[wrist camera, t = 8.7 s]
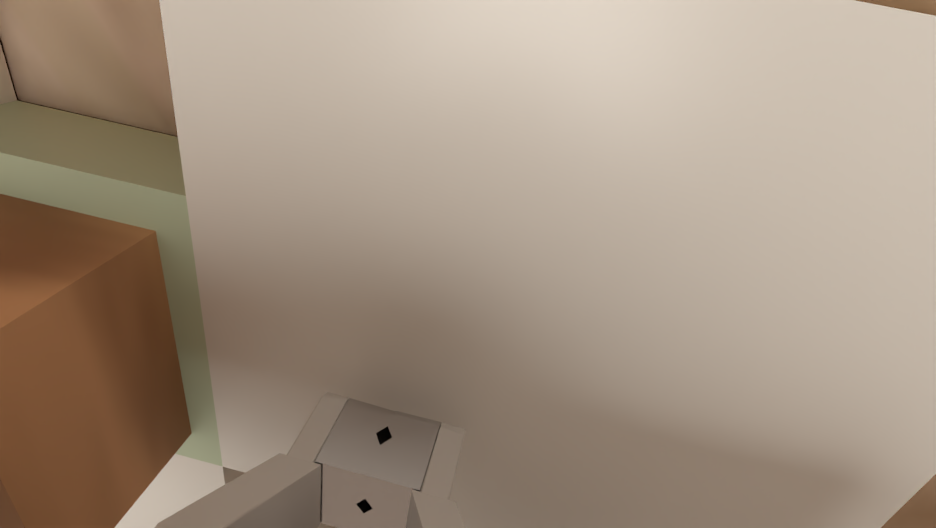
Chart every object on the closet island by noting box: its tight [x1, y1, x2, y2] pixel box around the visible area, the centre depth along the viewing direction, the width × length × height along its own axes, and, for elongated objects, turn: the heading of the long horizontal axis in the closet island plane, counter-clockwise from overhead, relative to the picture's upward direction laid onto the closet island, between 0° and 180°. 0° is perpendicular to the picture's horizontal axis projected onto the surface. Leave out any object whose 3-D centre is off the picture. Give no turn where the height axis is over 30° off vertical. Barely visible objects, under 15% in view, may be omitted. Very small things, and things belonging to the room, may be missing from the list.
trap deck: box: [0, 0, 936, 528], centre depth 11 cm, size 24×18×5 cm
